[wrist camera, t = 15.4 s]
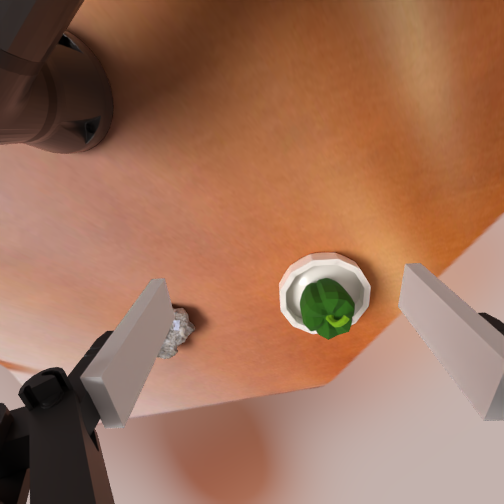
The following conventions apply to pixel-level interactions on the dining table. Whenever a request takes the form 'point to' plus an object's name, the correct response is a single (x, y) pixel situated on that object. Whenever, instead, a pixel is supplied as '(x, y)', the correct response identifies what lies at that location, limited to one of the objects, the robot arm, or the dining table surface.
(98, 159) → the dining table surface
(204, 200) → the dining table surface
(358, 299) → the dish
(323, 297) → the bell pepper
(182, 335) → the mineral specimen
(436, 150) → the dining table surface
